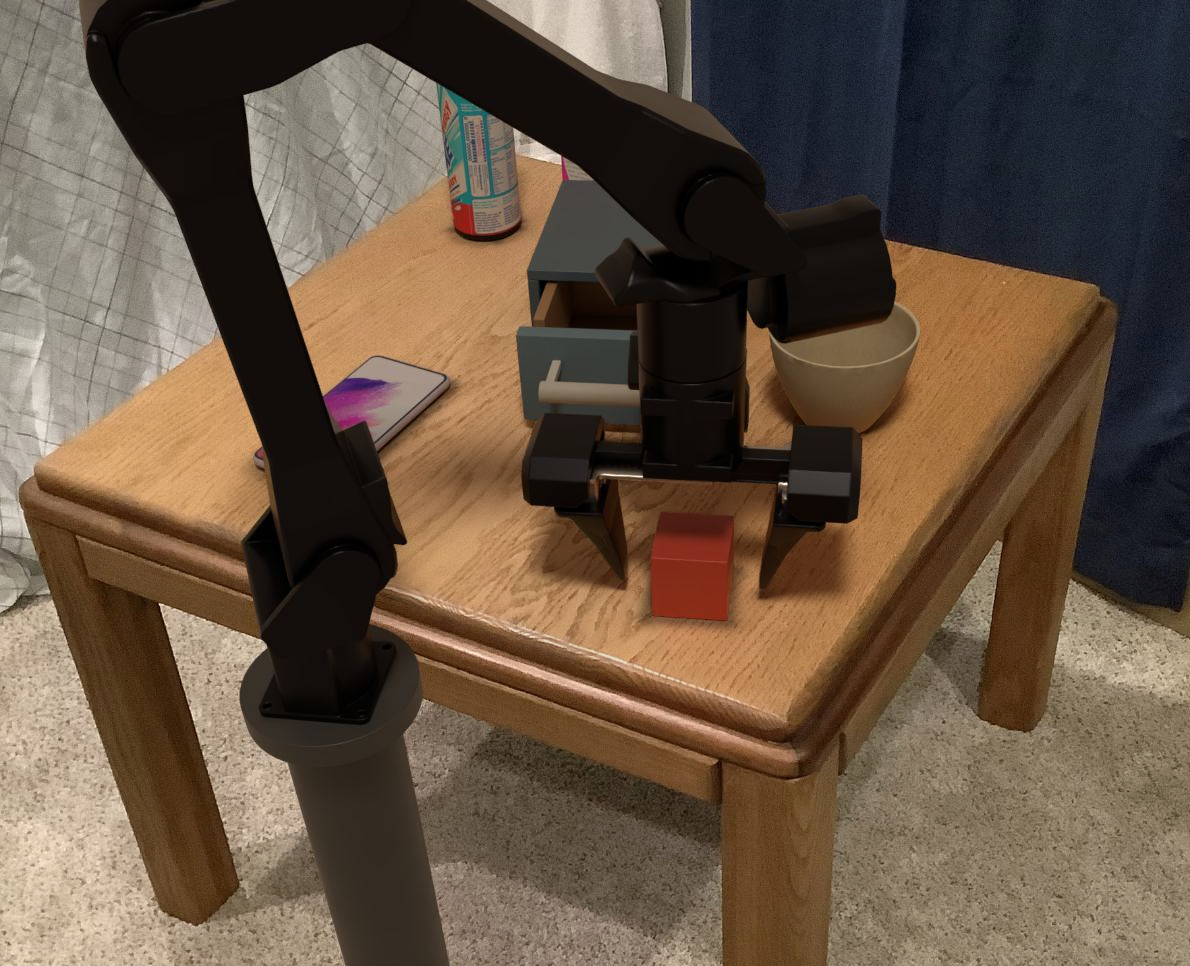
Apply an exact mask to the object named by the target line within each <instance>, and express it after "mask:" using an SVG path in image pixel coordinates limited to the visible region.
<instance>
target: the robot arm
mask: <svg viewBox="0 0 1190 966" xmlns="http://www.w3.org/2000/svg"><path fill="white" fill-rule="evenodd" d="M78 8H79V9H78V10H79V16H80V23H81V31H82V32H81V33H82V39H83V47H84V55H85V60H86V66H87V70H88V75H89V78H90V81H91V84H92V85H93V88H94V89H95V92H96V93H97V95H98V96H99V98H100V100H101V102H102V103H103V105H104V107H105V108H106V110H107V112H108V114H109V115H110V118H111V119H112V120H113V122H114V123H115V125H116V127H117V128H118V130H119V131H120V134H121V135H122V137H123V139H124V140H125V142H126V143H127V145H128V147H129V148H130V150H131V152H132V153H133V155H134V156H135V158H136V160H137V161H138V162H139V164H140V165H141V166H142V168H143V169H144V170H145V172H146V173H147V174H148V175H149V177H150V179H151V180H152V181H153V183H154V184H155V185H156V187H157V188H158V189H159V190H160V192H161V193H162V195H163V196H164V197H165V199H166V200H167V202H168V204H169V205H170V207H171V209H172V211H173V213H174V215H175V218H176V220H177V222H178V226H179V228H180V231H181V234H182V236H183V239H184V242H185V245H186V248H187V250H188V252H189V255H190V258H191V260H192V263H193V265H194V268H195V271H196V273H197V276H198V279H199V281H200V284H201V286H202V290H203V293H204V295H205V298H206V300H207V302H208V306H209V308H210V310H211V313H212V316H213V319H214V321H215V324H216V327H217V329H218V332H219V335H220V337H221V340H222V342H223V345H224V348H225V350H226V353H227V357H228V358H229V361H230V364H231V366H232V369H233V372H234V374H235V377H236V379H237V382H238V385H239V388H240V390H241V393H242V395H243V399H244V401H245V404H246V406H247V408H248V412H249V414H250V417H251V419H252V421H253V425H254V427H255V430H256V432H257V435H258V438H259V441H260V443H261V447H262V451H263V461H264V468H265V469H264V468H263V469H264V473H265V480H266V486H267V487H266V488H267V493H268V500H269V506H268V507H267V508H266V510H265V511H264V512H263V513H262V514H261V515H260V517H259V518H258V519H257V521H256V522H255V523H254V524H253V526H252V527H251V528H250V529H249V531H248V532H247V533H246V535H245V536H244V537H243V538H242V540H241V542H240V546H241V551H242V554H243V559H244V565H245V569H246V574H247V578H248V582H249V588H250V592H251V597H252V602H253V607H254V612H255V617H256V621H257V627H258V631H259V635H260V640H262V642H263V643H264V644H265V645H266V649H268V652H269V656H270V660H271V663H272V667H273V670H274V674H273V676H272V679H271V681H270V683H269V685H268V687H267V689H266V692H265V694H264V696H263V698H262V700H261V702H260V704H259V711H260V714H261V716H263V717H266V718H278V719H290V720H303V721H315V722H327V723H339V724H351V725H365V724H367V723H368V722H370V720H371V718H372V715H373V713H374V710H375V707H376V705H377V702H378V699H379V697H380V694H381V692H382V689H383V686H384V684H385V681H386V678H387V676H388V673H389V671H390V668H391V665H392V663H393V660H394V657H395V655H396V646H395V644H394V643H393V642H388V641H374V640H372V638H371V633H370V628H369V624H370V623H371V618H372V614H373V609H374V606H375V601H376V599H377V595H378V594H379V593H381V592H382V591H383V590H384V589H385V588H386V586H387V585H388V584H389V582H390V581H391V579H393V578H395V577H396V575H397V573H398V567H399V561H398V552H397V549H396V547H395V546H396V545H398V546H405V545H408V540H407V539H408V538H407V536H406V533H405V530H404V528H403V525H402V522H401V519H400V517H399V514H398V511H397V508H396V505H395V502H394V499H393V497H392V494H391V492H390V491H391V490H390V488H389V482H388V478H387V475H386V472H385V470H384V467H383V464H382V461H381V459H380V455H379V453H378V451H377V450H376V447H375V444H374V442H373V439H372V436H371V433H370V430H369V428H368V425H367V422H366V421H362V422H360V423H357V424H355V425H353V426H351V427H349V428H347V429H345V430H342V428H341V427H340V426H339V424H338V423H337V422H336V420H335V419H334V417H333V416H332V415H331V413H330V411H329V410H328V408H327V406H326V404H325V401H324V398H323V396H324V394H323V391H322V389H321V386H320V383H319V380H318V376H317V374H316V371H315V368H314V364H313V362H312V358H311V355H310V353H309V350H308V346H307V343H306V341H305V337H304V334H303V332H302V328H301V325H300V323H299V319H298V316H297V313H296V311H295V308H294V305H293V301H292V298H291V295H290V291H289V290H288V286H287V282H286V280H285V277H284V274H283V271H282V268H281V265H280V261H279V259H278V256H277V254H276V250H275V247H274V244H273V241H272V238H271V235H270V231H269V228H268V225H267V223H266V220H265V216H264V213H263V210H262V208H261V205H260V202H259V200H258V195H257V192H256V190H255V187H254V180H253V171H252V170H253V169H252V157H251V146H250V134H249V125H248V124H249V123H248V115H247V110H246V103H245V102H246V101H245V96H247V95H250V94H253V93H254V94H255V93H257V92H261V91H264V90H267V89H271V88H274V87H276V86H279V85H281V84H282V83H284V82H286V81H288V80H290V79H291V78H293V77H295V76H297V75H299V74H300V73H303V72H305V71H307V70H308V69H310V68H312V67H314V66H315V65H318V64H319V63H321V62H323V61H325V60H326V59H328V58H331V57H332V56H334V55H335V54H338V53H340V52H342V51H345V50H349V49H353V48H356V47H359V46H362V45H367V44H369V45H371V46H373V47H374V48H375V49H377V50H379V51H381V52H383V53H385V54H386V55H388V56H390V57H391V58H393V59H395V60H396V61H398V62H400V63H401V64H403V65H405V66H406V67H409V68H410V69H412V70H414V71H415V72H417V73H418V74H420V75H422V76H424V77H425V78H427V79H429V80H431V81H432V82H434V83H435V84H436V83H438V84H439V85H441V86H443V87H444V88H446V89H448V90H449V91H451V92H453V93H455V94H456V95H458V96H460V97H461V98H463V99H465V100H467V101H468V102H470V103H472V104H473V105H475V106H477V107H479V108H480V109H482V110H484V111H485V112H487V113H489V114H491V115H492V116H494V117H496V118H497V119H499V120H501V121H502V122H504V123H506V124H508V125H509V126H511V127H513V130H514V129H515V130H516V131H518V132H519V133H522V134H523V135H525V136H526V137H528V138H529V139H532V140H534V142H536V143H539V144H540V145H542V146H544V147H545V148H546V149H549V150H550V151H552V152H554V153H556V154H557V155H559V156H560V157H561V156H562V157H564V158H566V159H567V160H569V161H571V162H573V163H574V164H576V165H577V166H579V167H580V168H581V169H582V170H583V171H584V172H585V173H586V174H588V175H589V176H590V177H591V178H592V179H593V180H594V181H595V182H596V183H597V184H598V185H599V186H601V187H602V188H603V189H604V190H605V191H606V192H607V193H608V194H609V195H610V196H611V197H612V198H613V199H614V200H615V201H616V202H617V203H618V204H619V205H620V206H621V207H622V208H623V209H624V210H625V211H626V212H627V213H628V214H629V215H630V216H631V217H632V218H633V219H635V220H636V221H637V222H638V223H639V224H640V225H641V226H642V227H644V228H645V229H646V230H647V231H648V232H649V233H650V234H651V235H653V236H654V237H655V238H656V239H657V240H658V241H659V242H661V243H662V244H663V245H659V246H654V247H649V248H646V247H641V246H639V245H638V244H636V243H635V242H634V241H633V239H632V238H630V237H627V238H625V239H623V241H622V243H621V245H620V246H619V248H618V249H617V250H616V251H615V252H614V253H612V254H610V255H609V256H607V257H606V258H605V259H604V260H603V261H602V262H601V263H600V264H599V265H598V266H597V267H596V268H595V276H596V277H597V279H598V280H599V282H600V283H601V285H602V286H603V288H604V289H605V291H606V292H607V294H608V295H609V297H610V298H611V300H612V301H613V303H614V304H615V305H616V306H617V307H626V306H631V305H636V304H637V330H638V331H633V332H632V333H631V335H630V342H629V354H628V376H627V384H628V388H629V389H630V390H639V395H640V425H639V426H640V442H634V441H617V440H615V441H613V440H605V438H606V435H607V434H606V424H605V420H604V418H603V417H602V415H582V414H561V413H544V414H543V415H542V416H541V417H540V418H539V419H538V420H535V422H534V425H533V428H532V431H531V434H530V437H529V439H528V443H527V446H526V450H525V452H524V455H523V458H522V460H521V471H520V480H521V490H522V491H521V492H522V499H523V501H524V502H526V503H527V504H528V505H529V506H531V507H545V508H546V507H548V508H551V507H552V509H553V513H554V515H555V516H556V517H558V518H563V519H569V520H570V521H572V522H573V523H574V525H575V526H577V528H578V529H579V530H580V531H581V533H583V534H584V535H585V536H586V537H587V538H588V540H590V542H591V543H592V544H593V545H594V547H595V548H596V550H597V551H598V552H599V553H600V555H601V556H602V558H603V559H604V560H605V562H606V563H607V565H608V566H609V568H610V569H611V571H612V572H613V573H614V575H615V576H616V578H617V579H618V580H619V581H621V582H623V581H624V582H625V581H626V580H627V577H628V572H629V549H628V542H627V535H626V529H625V523H624V517H623V512H622V511H623V510H622V504H621V497H620V491H619V489H620V488H619V481H633V482H634V481H635V482H637V481H638V482H653V483H654V482H656V483H671V484H672V483H674V484H691V485H707V486H708V485H714V484H715V483H724V484H731V483H742V484H743V483H744V484H761V485H763V484H764V485H775V488H774V493H773V498H772V504H771V509H770V512H769V513H770V514H769V518H768V524H767V529H766V533H765V538H764V542H763V543H764V544H763V547H762V552H761V559H760V568H759V577H758V578H759V579H758V588H759V590H760V591H766V590H767V589H768V587H769V585H770V584H771V582H772V581H773V579H774V577H775V576H776V574H777V572H778V570H779V569H780V567H781V565H782V563H783V562H784V561H785V559H786V557H787V556H788V555H789V553H790V552H791V551H792V550H793V549H794V548H795V547H796V546H797V544H799V542H800V541H801V540H802V539H803V538H804V537H805V535H806V534H808V533H820V532H823V531H824V530H825V529H826V527H827V523H828V524H843V525H844V524H845V525H848V524H850V523H852V522H854V521H855V520H857V519H859V508H860V500H861V499H860V498H861V487H862V486H861V485H862V467H863V466H862V465H863V440H864V439H863V437H862V436H861V435H860V433H858V432H857V431H856V430H855V429H854V428H853V427H834V426H813V425H806V424H792V434H791V441H789V442H787V443H786V444H785V445H783V446H765V445H747V444H745V433H748V430H749V423H750V396H751V395H750V393H751V387H750V383H749V381H748V378H747V358H748V349H747V333H748V315H749V317H750V319H751V321H752V323H753V324H754V325H755V326H756V328H758V329H760V330H763V329H767V330H768V332H769V331H770V333H771V335H772V336H773V337H774V338H775V340H777V341H778V342H780V343H784V344H786V343H791V342H796V341H800V340H805V339H810V338H814V337H819V336H824V335H828V334H833V333H838V332H842V331H847V330H852V329H856V328H861V327H866V326H871V325H875V324H880V323H882V322H884V321H886V320H887V319H888V317H889V316H890V315H891V312H892V310H893V307H894V303H895V302H896V298H897V281H896V279H895V277H893V268H892V262H891V261H892V260H891V256H890V252H889V248H888V245H887V242H886V240H885V238H884V234H883V233H882V231H881V225H882V213H883V212H882V210H880V208H879V207H877V206H876V205H875V204H874V203H873V202H872V201H871V200H870V199H869V198H868V197H867V196H865V195H864V193H863V194H857V195H852V196H848V197H843V198H840V199H839V200H836V201H833V202H832V203H829V204H825V205H820V206H819V205H818V206H814V207H810V208H805V209H800V210H799V209H798V210H794V211H789V212H782V213H779V214H777V213H776V212H775V210H774V209H773V208H772V207H771V206H770V205H769V203H767V202H766V199H767V187H766V179H767V175H766V172H765V171H764V169H763V166H762V164H761V163H759V161H758V160H757V159H756V158H755V157H754V156H753V155H752V154H751V153H750V152H749V151H748V150H747V149H746V148H745V147H744V146H743V145H742V144H741V143H740V142H739V141H738V140H737V138H735V137H734V136H733V135H732V134H731V133H730V132H729V130H728V129H726V127H725V126H723V125H722V123H720V121H719V120H718V119H717V118H716V117H715V116H714V115H713V114H712V113H711V112H710V111H709V110H708V109H706V108H705V107H703V106H701V105H699V104H697V103H696V102H693V101H690V100H688V99H685V98H682V97H680V96H677V95H675V94H672V93H670V92H668V91H666V90H665V91H664V90H662V89H660V88H657V87H654V86H651V85H650V84H646V83H641V82H636V81H631V80H626V79H622V78H621V79H620V78H617V77H615V76H612V75H610V74H607V73H605V72H602V71H599V70H597V69H595V68H593V67H592V66H590V65H589V64H587V63H586V62H584V61H583V60H581V59H580V58H578V57H577V56H575V55H574V54H571V53H570V52H569V51H567V50H566V49H564V48H563V47H560V46H559V45H557V44H556V43H555V42H553V41H551V39H548V38H547V37H545V36H544V35H542V34H540V33H538V32H537V31H536V30H534V29H533V28H531V27H529V26H528V25H526V24H525V23H523V22H522V21H520V20H519V19H517V18H516V17H514V16H512V15H511V14H510V13H508V12H506V11H504V10H503V9H502V8H500V7H498V6H496V5H495V4H493V3H492V2H490V1H489V0H78ZM387 649H389V650H387ZM267 708H270V709H267ZM360 716H363V717H360Z"/></svg>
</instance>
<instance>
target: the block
mask: <svg viewBox="0 0 1190 966" xmlns="http://www.w3.org/2000/svg"><path fill="white" fill-rule="evenodd" d="M735 519H736V518H735V515H734V514H733V515H732V514H731V515H730V514H716V513H715V514H713V513H696V512H680V511H665V510H664V511H663V510H662V511H659V512H658V519H657V523H656V528H655V533H654V538H653V543H652V548H651V553H650V557H649V559H650V560H649V561H650V593H651V594H650V595H651V597H650V598H651V615H652V616H653V617H667V618H680V619H681V618H683V619H698V620H711V621H727V620H728V616H729V608H730V602H731V601H730V600H731V594H732V585H733V580H734V579H733V578H734V561H735V559H734V557H735Z"/></svg>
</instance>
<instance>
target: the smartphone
mask: <svg viewBox="0 0 1190 966" xmlns="http://www.w3.org/2000/svg"><path fill="white" fill-rule="evenodd" d="M450 385H451V380H450V377H449V376H448V375H447V374H446V373H444V372H440V371H436V370H433V369H430V368H426V367H423V366H420V365H416V364H412V363H409V362H405V361H402V360H399V359H395V358H392V357H389V356H385V355H381V354H376V355H372V356H370V357H368V358H367V359H366V360H365V361H363V362H362V363H361V364H360V365H358V366H357V367H356V368H355V369H354V370H353V371H351V372H350V373H349V374H348V375H347V376H345V377H344V378H343V379H342V380H341V381H339V382H338V383H337V384H335V385H334V386H333V387H331V389H329V390H328V391H327V392H326V393H324V394H323V398H324V401H325V404H326V406H327V408H328V410H329V411H330V413H331V415H332V416H333V417H334V419H335V420H336V422H337V423H338V424H339V426H340V427H341V428H342V430H345V429H347V428H349V427H351V426H353V425H355V424H357V423H360V422H362V421H366V422H367V425H368V428H369V430H370V433H371V436H372V439H373V442H374V444H375V447H376V450H377V452H378V451H379V450H380V449H382V448H383V447H384V446H385V445H386V444H387V443H389V441H390V440H391V439H393V438H394V437H395V436H396V435H397V434H398V433H400V431H401V430H403V429H404V428H405V427H406V426H407V425H408V424H410V423H411V422H412V421H413V420H414V419H415V418H416V417H417V416H418V415H420V413H421V412H423V411H424V410H425V409H426V408H427V407H428V406H429V405H431V404H432V403H433V402H434V401H435V400H436V399H438V397H439V396H440V395H442V394H443V393H444V392H445V391H447V390H448V388H449V387H450ZM252 460H253V463H254V464H255V465H256V466H257V467H260V468H262V469H263V470H265V468H264V461H263V451H262V446H260V447H259V448H258V449H257V450H256V451H255V452H253V454H252Z"/></svg>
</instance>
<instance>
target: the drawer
mask: <svg viewBox="0 0 1190 966" xmlns="http://www.w3.org/2000/svg"><path fill="white" fill-rule="evenodd" d="M533 322H534V327H532V326H525V325H524V326H523V325H522V326H521V325H520V326H518V328H517V331H516V334H515V342H516V352H517V362H518V372H519V382H520V391H521V401H522V402H521V403H522V413H523V414H522V415H523V420H525V421H537V420H538V419H539V418H540V417H541V416H542V415H543V414H544V413H561V414H582V415H602V417H603V418H604V420H605V425H606V424H608V425H626V426H627V425H631V426H640V395H639V390H630V389H629V388H628V384H627V376H628V354H629V342H630V335H631V333H632V332H633V331H638V330H637V304H636V305H631V306H626V307H617V306H616V305H615V304H614V303H613V301H612V300H611V298H610V297H609V295H608V294H607V292H606V291H605V289H604V288H603V286H602V285H601V283H600V282H580V281H549V280H548V281H547V284H546V286H545V289H544V292H543V295H542V297H541V300H540V303H539V305H538V308H537V311H536V313H535V316H534V319H533Z"/></svg>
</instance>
